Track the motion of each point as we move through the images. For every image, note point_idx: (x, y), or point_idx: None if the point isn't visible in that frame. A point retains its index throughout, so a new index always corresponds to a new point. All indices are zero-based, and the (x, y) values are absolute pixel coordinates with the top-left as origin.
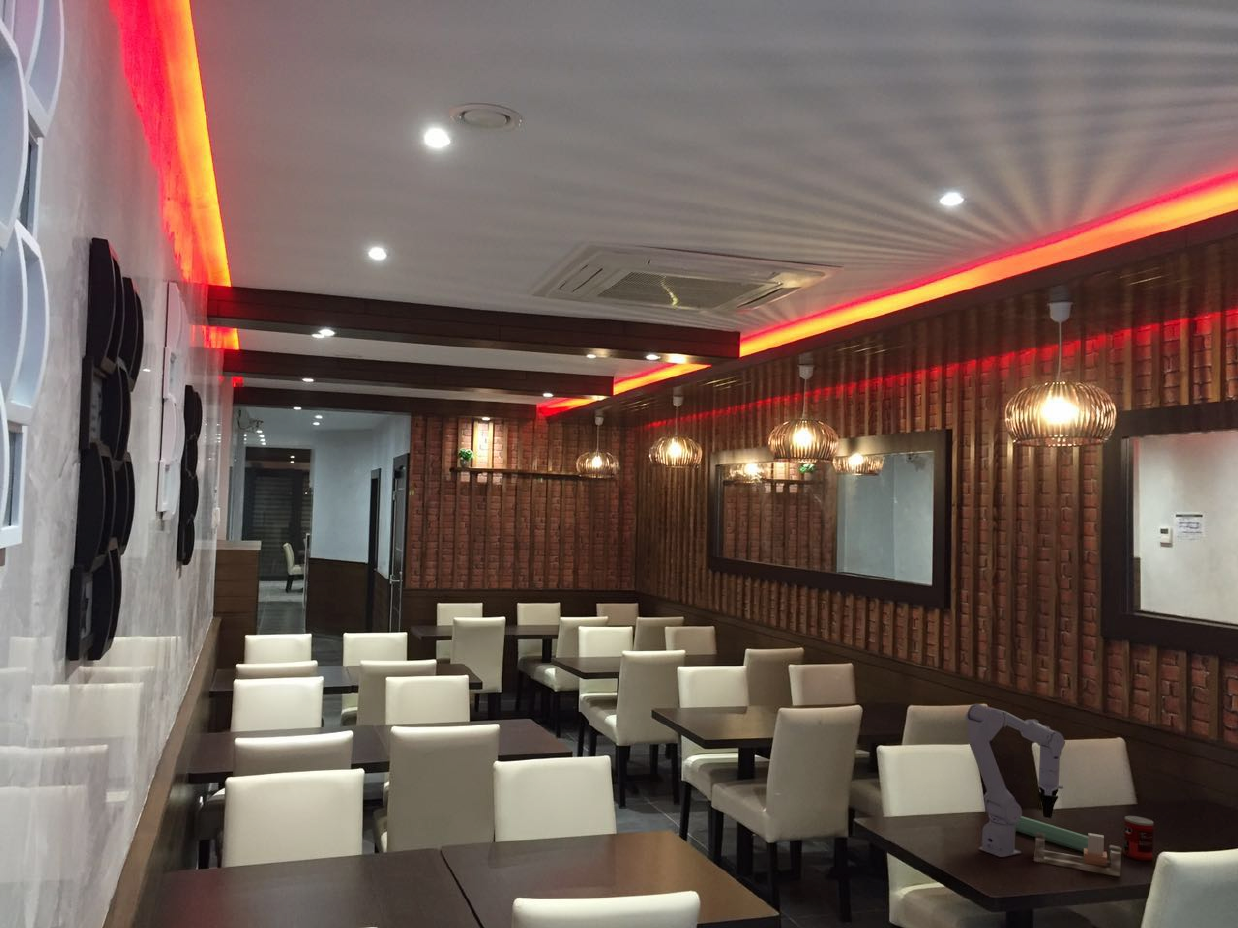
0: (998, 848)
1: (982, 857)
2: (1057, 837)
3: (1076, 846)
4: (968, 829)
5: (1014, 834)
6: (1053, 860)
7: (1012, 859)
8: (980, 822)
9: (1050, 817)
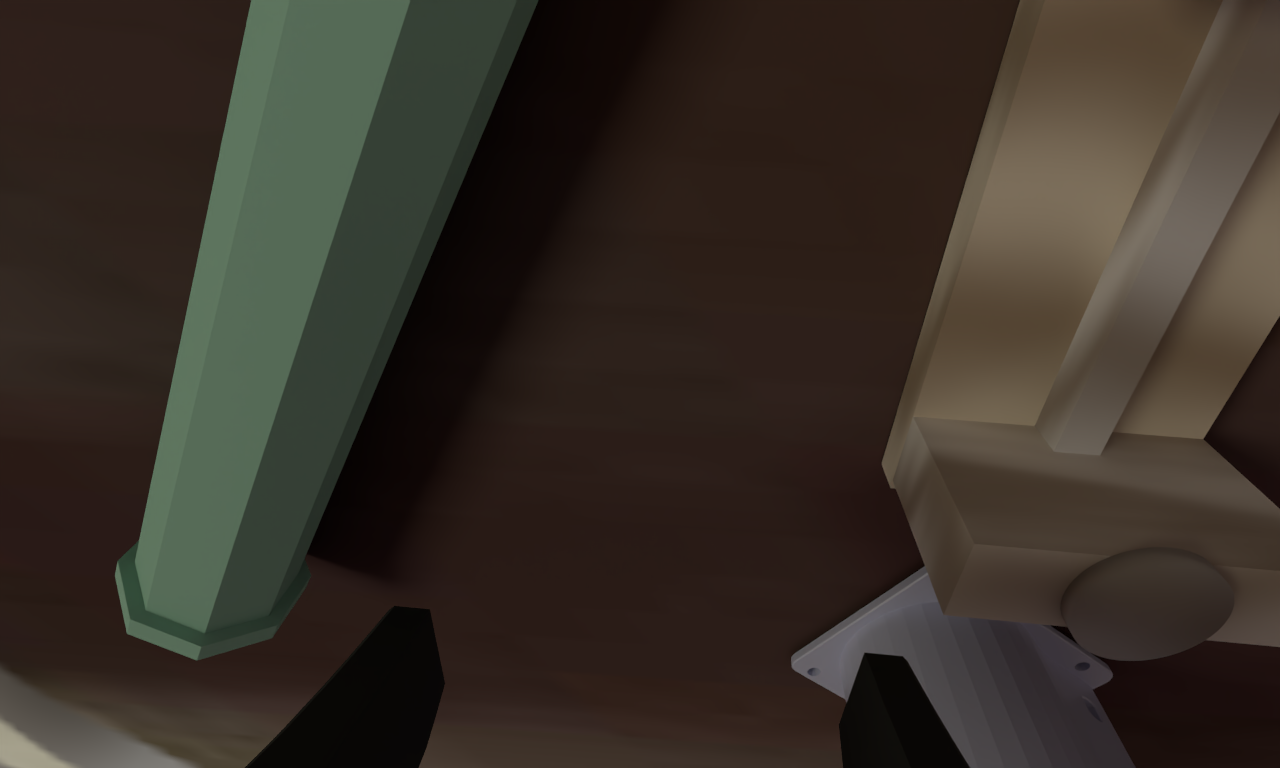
0: (1115, 733)
1: (1130, 741)
2: (411, 282)
3: (516, 50)
4: (502, 749)
5: (1058, 754)
6: (1247, 356)
7: None
8: (275, 693)
9: (910, 670)
